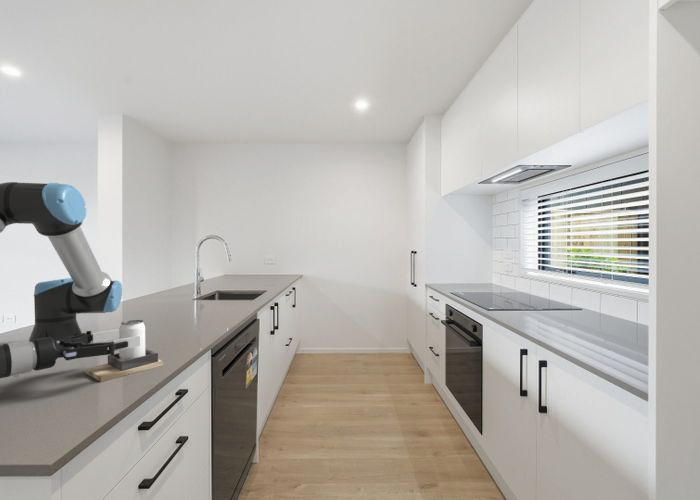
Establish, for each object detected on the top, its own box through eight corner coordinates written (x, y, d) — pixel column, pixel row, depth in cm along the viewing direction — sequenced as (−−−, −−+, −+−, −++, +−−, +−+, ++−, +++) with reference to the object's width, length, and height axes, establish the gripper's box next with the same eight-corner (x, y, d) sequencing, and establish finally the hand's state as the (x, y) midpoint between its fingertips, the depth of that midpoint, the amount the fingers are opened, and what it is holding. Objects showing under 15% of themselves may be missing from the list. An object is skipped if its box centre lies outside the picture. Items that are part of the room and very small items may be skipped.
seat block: (85, 373, 100) (85, 359, 100) (145, 358, 113) (145, 346, 113) (101, 381, 93) (101, 367, 93) (163, 365, 106) (163, 352, 106)
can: (133, 367, 101) (132, 324, 100) (113, 365, 102) (113, 323, 102) (150, 360, 107) (150, 320, 107) (132, 358, 108) (131, 319, 108)
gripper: (18, 361, 93) (110, 343, 111) (48, 382, 79) (149, 358, 96) (17, 332, 93) (110, 318, 110) (48, 348, 79) (149, 330, 96)
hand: (128, 337), depth 103 cm, fingers open, 13 cm apart
